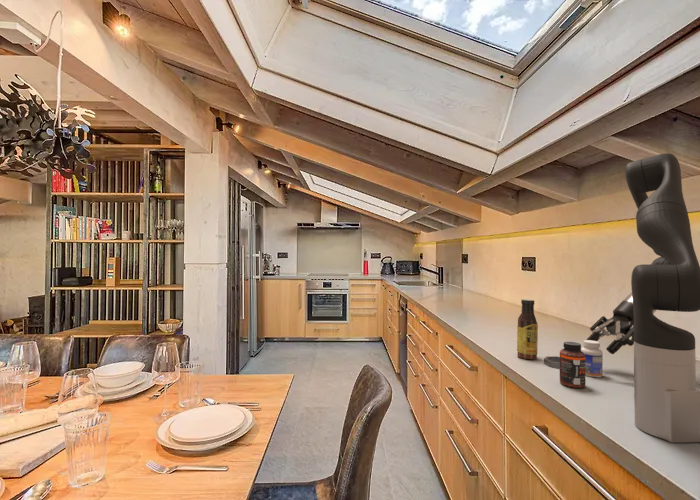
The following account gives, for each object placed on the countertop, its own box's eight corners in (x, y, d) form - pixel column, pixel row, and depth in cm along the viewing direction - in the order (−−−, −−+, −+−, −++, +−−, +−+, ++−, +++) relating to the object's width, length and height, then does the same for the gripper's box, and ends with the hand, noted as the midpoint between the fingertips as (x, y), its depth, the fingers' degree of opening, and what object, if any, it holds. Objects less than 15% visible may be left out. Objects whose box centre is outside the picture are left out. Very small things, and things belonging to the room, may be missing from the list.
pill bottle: (576, 371, 106) (575, 339, 106) (593, 371, 106) (592, 339, 106) (589, 378, 100) (589, 343, 100) (607, 377, 101) (607, 343, 101)
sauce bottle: (528, 361, 116) (528, 301, 116) (513, 356, 122) (512, 299, 122) (542, 358, 119) (541, 300, 119) (526, 354, 124) (525, 298, 125)
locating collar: (579, 369, 108) (579, 363, 108) (554, 369, 108) (554, 363, 108) (563, 361, 116) (563, 356, 116) (539, 361, 116) (539, 356, 116)
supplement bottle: (584, 390, 91) (584, 347, 91) (558, 385, 94) (557, 343, 94) (586, 384, 95) (585, 342, 96) (561, 379, 99) (560, 339, 99)
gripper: (608, 297, 111) (573, 333, 110) (648, 303, 96) (607, 345, 96) (625, 313, 111) (590, 350, 110) (667, 322, 96) (626, 364, 96)
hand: (598, 347), depth 103 cm, fingers open, 8 cm apart
